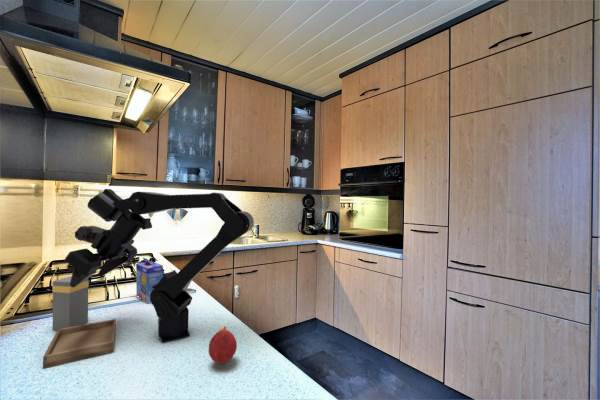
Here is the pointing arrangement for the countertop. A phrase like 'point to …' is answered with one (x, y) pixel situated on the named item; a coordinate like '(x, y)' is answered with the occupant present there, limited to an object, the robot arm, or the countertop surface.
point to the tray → (80, 343)
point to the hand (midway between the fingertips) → (86, 280)
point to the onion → (222, 346)
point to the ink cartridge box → (147, 278)
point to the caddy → (69, 304)
